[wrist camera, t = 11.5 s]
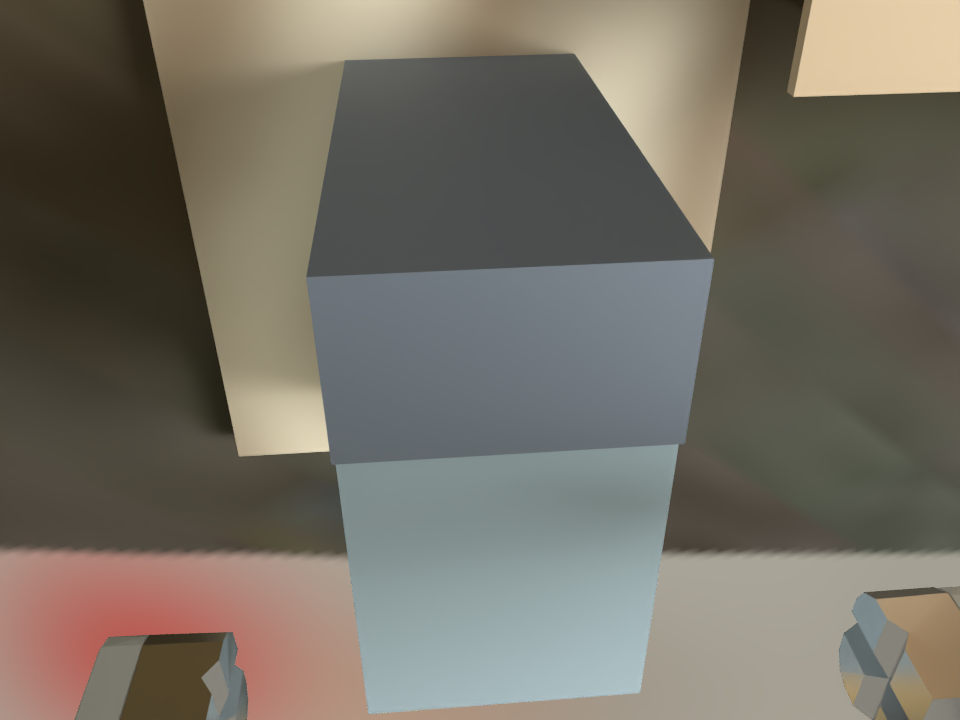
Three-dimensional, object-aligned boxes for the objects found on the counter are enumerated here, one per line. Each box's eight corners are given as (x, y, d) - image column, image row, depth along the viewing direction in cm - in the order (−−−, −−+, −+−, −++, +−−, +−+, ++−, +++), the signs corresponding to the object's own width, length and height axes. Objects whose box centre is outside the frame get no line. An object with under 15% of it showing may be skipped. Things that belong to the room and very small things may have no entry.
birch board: (742, -56, 19) (758, -49, 18) (673, 410, 26) (682, 430, 26) (147, -43, 18) (135, -36, 18) (244, 434, 26) (239, 456, 25)
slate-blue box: (574, 53, 19) (713, 258, 11) (557, 382, 24) (643, 697, 16) (344, 60, 19) (306, 277, 11) (375, 392, 24) (365, 719, 16)
